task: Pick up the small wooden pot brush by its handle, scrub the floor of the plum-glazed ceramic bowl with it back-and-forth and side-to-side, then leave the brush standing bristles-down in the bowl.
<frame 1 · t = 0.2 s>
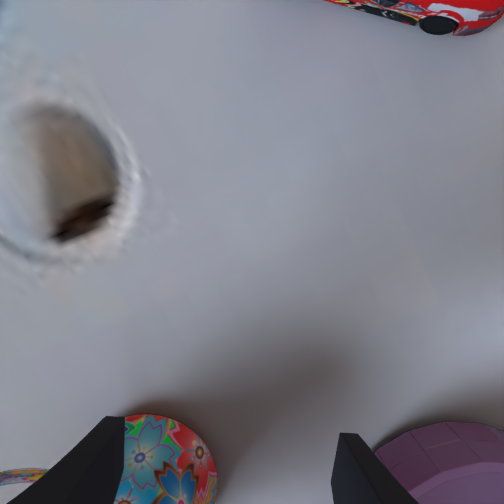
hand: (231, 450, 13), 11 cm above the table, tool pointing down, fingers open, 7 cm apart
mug: (132, 458, 24), on the table
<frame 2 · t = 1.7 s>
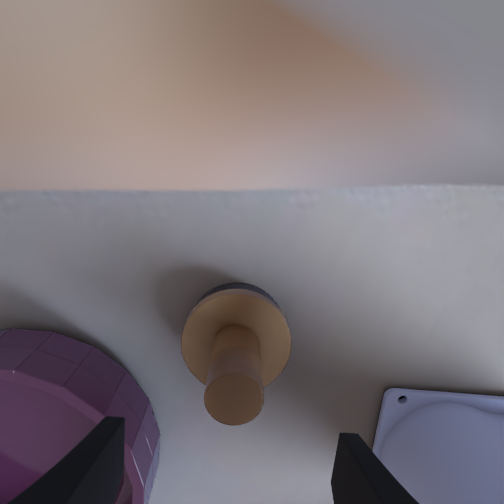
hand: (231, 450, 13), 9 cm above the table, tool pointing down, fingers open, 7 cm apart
pot brush: (237, 326, 22), on the table
bowl: (43, 432, 24), on the table
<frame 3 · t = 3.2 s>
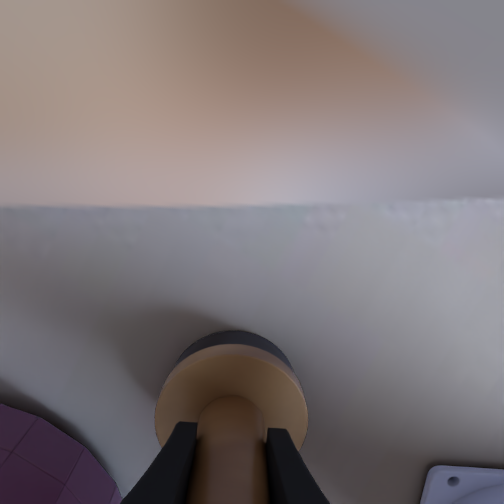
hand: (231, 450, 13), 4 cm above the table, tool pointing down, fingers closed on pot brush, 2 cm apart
pot brush: (233, 386, 17), on the table, touching gripper
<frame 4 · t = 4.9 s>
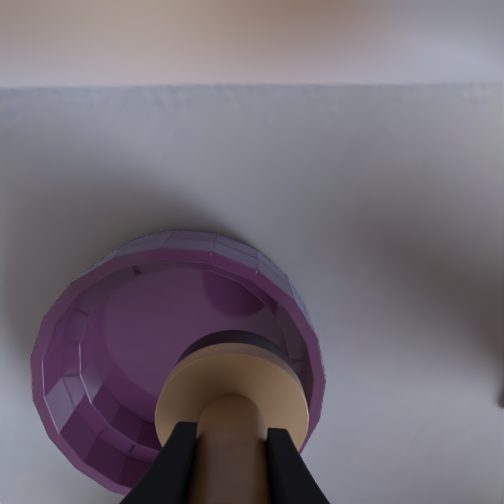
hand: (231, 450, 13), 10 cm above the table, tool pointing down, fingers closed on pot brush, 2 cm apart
pot brush: (233, 385, 17), point 7 cm above the table, touching gripper
bowl: (191, 345, 24), on the table
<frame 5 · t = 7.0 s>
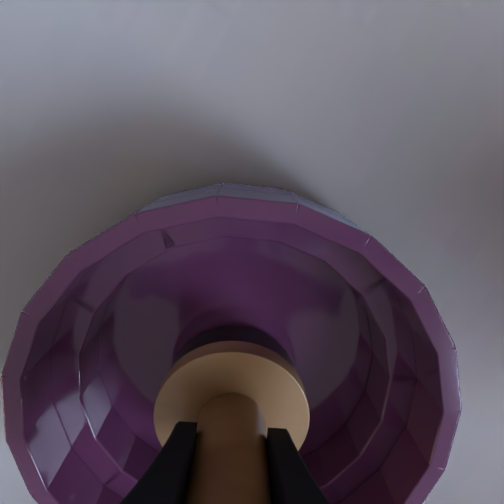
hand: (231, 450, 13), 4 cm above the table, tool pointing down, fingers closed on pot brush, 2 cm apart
pot brush: (233, 382, 16), point 1 cm above the table, touching bowl, gripper
bowl: (236, 352, 17), on the table
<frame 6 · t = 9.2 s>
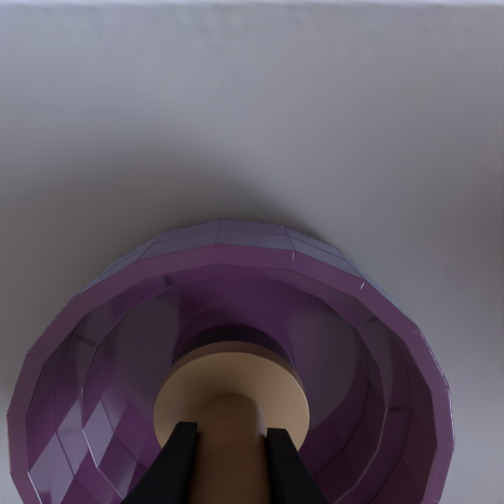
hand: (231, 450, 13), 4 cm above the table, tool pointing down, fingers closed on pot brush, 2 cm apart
pot brush: (232, 383, 16), point 1 cm above the table, touching gripper
bowl: (235, 380, 17), on the table
when the fingers open (4 cm above the table, at t = 10.7 s): pot brush stays where it is, resting on bowl.
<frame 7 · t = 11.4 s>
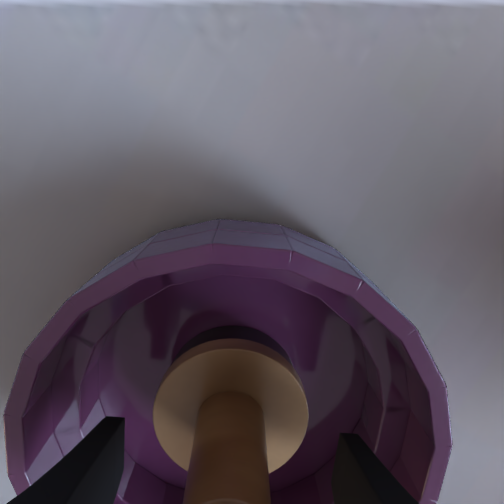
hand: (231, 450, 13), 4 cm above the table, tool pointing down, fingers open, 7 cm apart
pot brush: (232, 382, 16), point 1 cm above the table, touching bowl
bowl: (233, 380, 17), on the table
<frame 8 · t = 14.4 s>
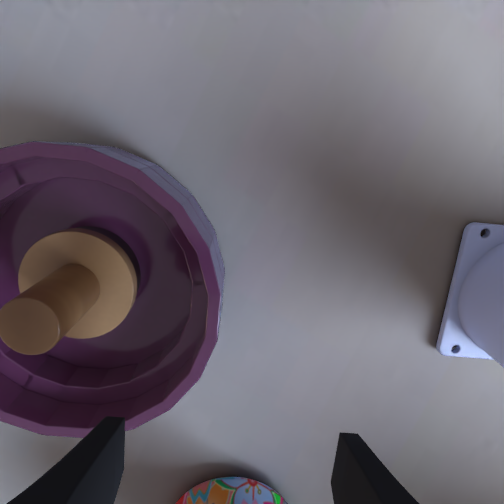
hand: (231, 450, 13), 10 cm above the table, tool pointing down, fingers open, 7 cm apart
pot brush: (93, 272, 22), point 1 cm above the table, touching bowl
bowl: (98, 274, 22), on the table
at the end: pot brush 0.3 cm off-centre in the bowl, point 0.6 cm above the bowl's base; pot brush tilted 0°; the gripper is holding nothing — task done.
